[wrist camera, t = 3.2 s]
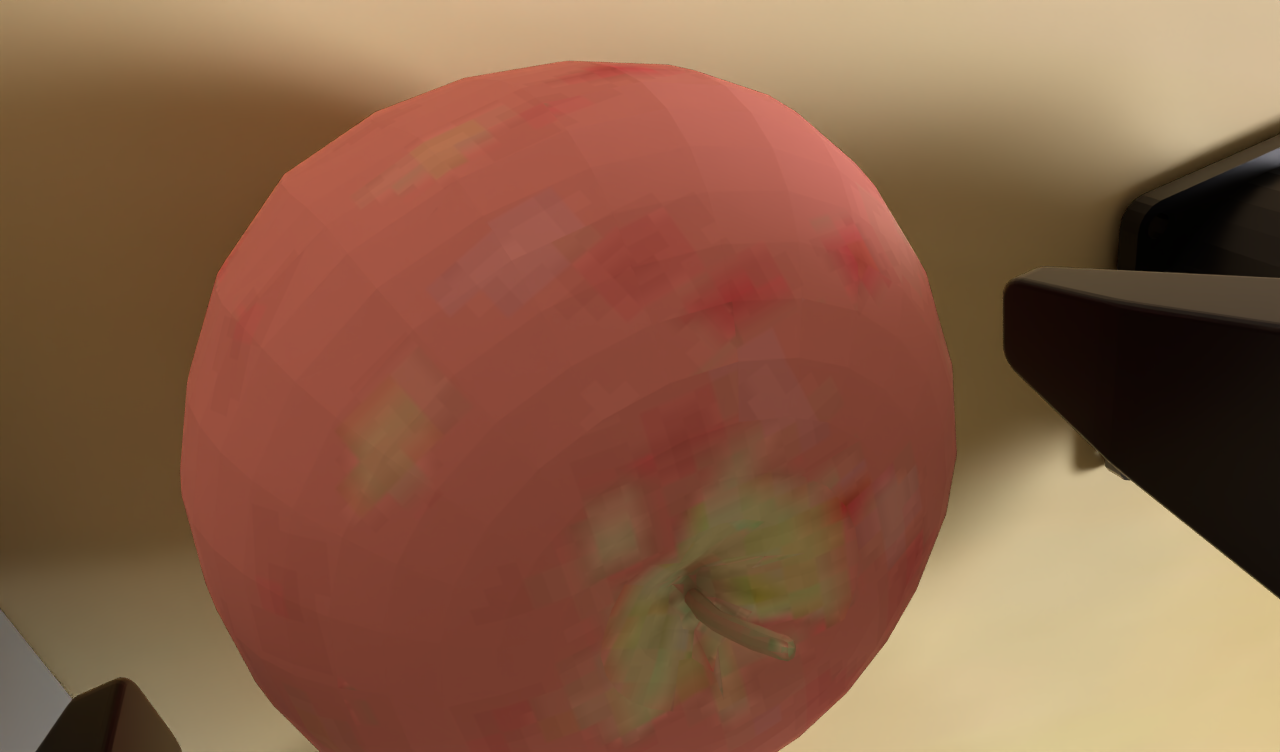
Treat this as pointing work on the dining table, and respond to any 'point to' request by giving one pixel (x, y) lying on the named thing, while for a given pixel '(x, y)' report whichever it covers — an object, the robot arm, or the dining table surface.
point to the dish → (25, 693)
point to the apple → (568, 422)
